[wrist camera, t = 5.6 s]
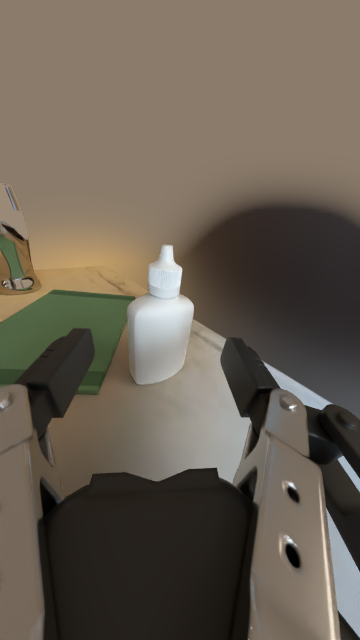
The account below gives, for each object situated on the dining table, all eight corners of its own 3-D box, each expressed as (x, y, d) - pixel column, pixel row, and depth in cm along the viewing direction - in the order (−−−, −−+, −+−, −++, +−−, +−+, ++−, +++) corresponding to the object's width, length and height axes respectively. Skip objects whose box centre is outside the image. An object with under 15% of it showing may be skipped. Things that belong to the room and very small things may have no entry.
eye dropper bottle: (134, 353, 19) (130, 237, 12) (182, 355, 19) (201, 246, 13) (125, 386, 15) (115, 243, 9) (186, 387, 16) (215, 256, 9)
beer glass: (16, 299, 26) (-36, 174, 18) (-22, 291, 26) (-87, 167, 19) (54, 285, 31) (27, 188, 24) (22, 279, 32) (-14, 182, 25)
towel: (-101, 392, 12) (-108, 387, 12) (55, 292, 29) (54, 289, 29) (97, 394, 14) (96, 389, 14) (135, 299, 31) (135, 296, 31)
